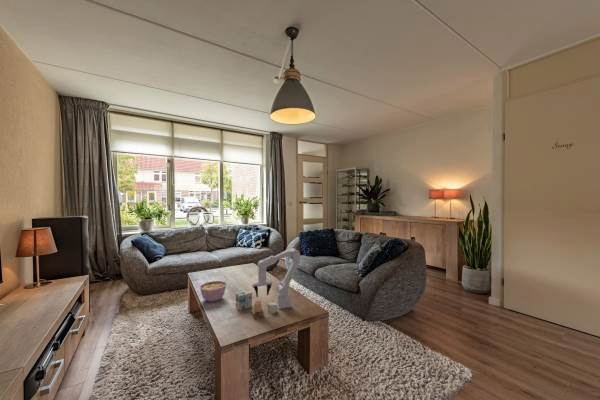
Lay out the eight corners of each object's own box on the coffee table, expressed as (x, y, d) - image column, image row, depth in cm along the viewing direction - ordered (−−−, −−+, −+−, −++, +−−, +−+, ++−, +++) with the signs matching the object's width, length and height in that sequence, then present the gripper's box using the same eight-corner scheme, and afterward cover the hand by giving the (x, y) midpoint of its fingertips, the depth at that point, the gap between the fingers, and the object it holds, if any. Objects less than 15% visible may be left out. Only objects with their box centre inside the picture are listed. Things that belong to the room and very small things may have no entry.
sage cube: (273, 309, 176) (273, 301, 176) (277, 311, 172) (277, 304, 172) (267, 311, 173) (267, 303, 173) (271, 313, 169) (271, 306, 169)
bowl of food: (200, 296, 198) (200, 282, 198) (225, 293, 206) (225, 279, 205) (199, 307, 180) (199, 291, 180) (227, 302, 187) (227, 288, 187)
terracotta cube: (261, 308, 170) (261, 300, 170) (261, 311, 165) (261, 303, 165) (254, 309, 169) (254, 301, 169) (254, 312, 165) (253, 304, 164)
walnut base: (261, 312, 172) (261, 307, 172) (263, 316, 165) (263, 311, 165) (251, 314, 169) (251, 309, 169) (253, 318, 163) (253, 313, 163)
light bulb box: (238, 310, 174) (238, 295, 174) (235, 307, 179) (235, 292, 179) (252, 306, 180) (252, 292, 180) (248, 303, 186) (248, 289, 185)
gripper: (270, 274, 181) (270, 292, 181) (251, 276, 175) (251, 295, 176) (273, 277, 174) (273, 295, 174) (253, 279, 169) (253, 298, 169)
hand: (262, 295), depth 175 cm, fingers open, 7 cm apart
